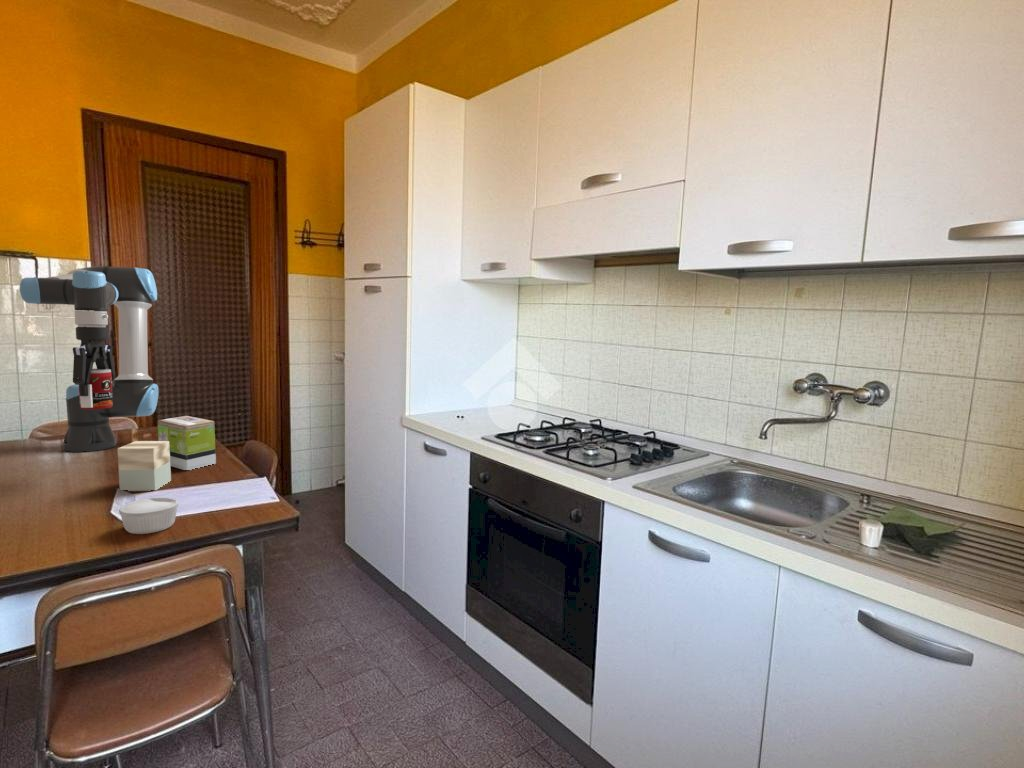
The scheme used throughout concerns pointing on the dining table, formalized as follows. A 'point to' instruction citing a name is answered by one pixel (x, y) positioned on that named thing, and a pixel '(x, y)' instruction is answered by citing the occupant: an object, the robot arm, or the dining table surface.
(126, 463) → the top block
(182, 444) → the tea box
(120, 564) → the dining table surface
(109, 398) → the canned food
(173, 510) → the ramekin
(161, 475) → the lower block
